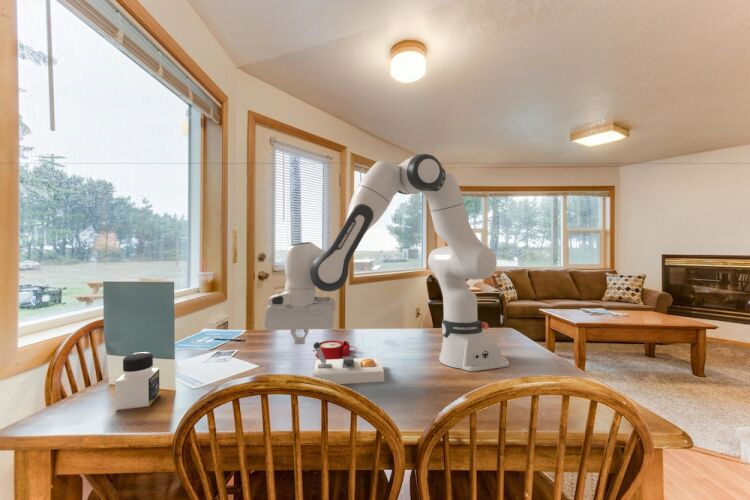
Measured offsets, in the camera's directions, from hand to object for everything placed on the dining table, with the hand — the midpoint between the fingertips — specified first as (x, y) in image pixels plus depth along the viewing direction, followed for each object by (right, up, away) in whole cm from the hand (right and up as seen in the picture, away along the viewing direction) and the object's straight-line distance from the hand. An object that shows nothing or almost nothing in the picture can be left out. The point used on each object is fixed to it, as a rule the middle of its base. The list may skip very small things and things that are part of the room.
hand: (299, 343), depth 95 cm
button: (+20, -10, +3) cm, 22 cm away
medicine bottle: (-37, -11, -14) cm, 41 cm away
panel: (+14, -10, +2) cm, 18 cm away
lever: (+7, -7, +1) cm, 10 cm away
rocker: (+14, -6, +2) cm, 15 cm away
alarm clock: (+8, -11, +21) cm, 25 cm away
